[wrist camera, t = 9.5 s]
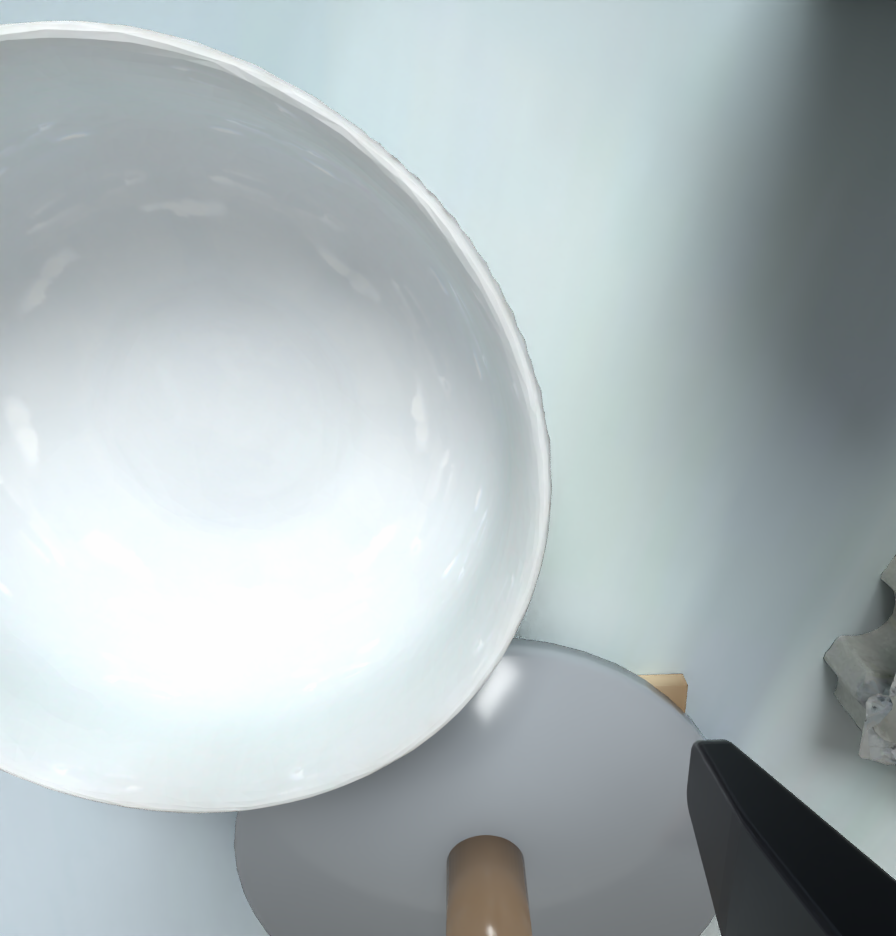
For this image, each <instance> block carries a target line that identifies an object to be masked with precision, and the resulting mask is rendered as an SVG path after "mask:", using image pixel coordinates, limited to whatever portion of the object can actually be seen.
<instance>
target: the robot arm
mask: <svg viewBox="0 0 896 936" xmlns="http://www.w3.org/2000/svg"><path fill="white" fill-rule="evenodd" d="M687 805H688V810H689V814H690V818H691V822H692V826H693V830H694V833H695V837H696V841H697V845H698V849H699V853H700V856H701V860H702V864H703V868H704V872H705V875H706V879H707V883H708V887H709V891H710V895H711V898H712V902H713V906H714V910H715V914H716V917H717V921H718V925H719V928H720V932H721V935H722V936H896V880H895V879H894V878H892V877H891V876H890V875H889V874H888V873H886V872H885V871H884V870H883V869H882V868H880V867H879V866H878V865H877V864H876V863H874V862H873V861H872V860H871V859H870V858H869V857H867V856H866V855H865V854H864V853H863V852H861V851H860V850H859V849H858V848H857V847H855V846H854V845H853V844H852V843H851V842H849V841H848V840H847V839H846V838H845V837H844V836H842V835H841V834H840V833H839V832H838V831H836V830H835V829H834V828H833V827H832V826H830V825H829V824H828V823H827V822H826V821H824V820H823V819H822V818H821V817H820V816H818V815H817V814H816V813H815V812H814V811H813V810H811V809H810V808H809V807H808V806H807V805H805V804H804V803H803V802H802V801H801V800H799V799H798V798H797V797H796V796H795V795H793V794H792V793H791V792H790V791H789V790H787V789H786V788H785V787H784V786H783V785H782V784H780V783H779V782H778V781H777V780H776V779H774V778H773V777H772V776H771V775H770V774H768V773H767V772H766V771H765V770H764V769H762V768H761V767H760V766H759V765H758V764H756V763H755V762H754V761H753V760H752V759H751V758H749V757H748V756H747V755H746V754H745V753H743V752H742V751H741V750H740V749H739V748H737V747H736V746H735V745H734V744H732V743H731V742H729V741H727V740H723V739H717V740H697V741H695V742H694V743H693V745H692V748H691V753H690V763H689V772H688V781H687Z"/></svg>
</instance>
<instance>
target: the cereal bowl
mask: <svg viewBox="0 0 896 936" xmlns="http://www.w3.org/2000/svg"><path fill="white" fill-rule="evenodd" d="M551 493H552V483H551V462H550V438H549V435H548V431H547V426H546V421H545V412H544V409H543V402H542V392H541V388H540V386H539V384H538V381H537V379H536V377H535V374H534V369H533V365H532V361H531V359H530V357H529V354H528V351H527V346H526V342H525V339H524V337H523V335H522V334H521V332H520V330H519V328H518V327H517V323H516V320H515V316H514V313H513V311H512V309H511V308H510V306H509V305H508V303H507V302H506V300H505V297H504V295H503V293H502V291H501V288H500V286H499V284H498V282H497V281H496V280H495V279H494V277H493V276H492V274H491V272H490V269H489V267H488V265H487V263H486V261H485V260H484V259H483V258H482V257H481V255H480V254H479V253H478V252H477V250H476V248H475V247H474V245H473V243H472V241H471V239H470V238H469V237H468V236H467V235H466V234H465V233H464V232H463V230H462V229H461V228H460V226H459V224H458V222H457V221H456V219H455V218H454V217H453V216H452V215H451V214H450V213H449V212H448V211H447V210H446V209H445V208H444V207H443V205H442V204H441V203H440V201H439V200H438V199H437V198H436V196H435V195H434V194H433V193H431V192H430V191H429V190H428V189H426V187H425V186H424V185H423V183H422V182H421V180H420V179H419V178H418V177H416V176H415V175H414V174H412V173H411V172H409V171H408V170H407V169H406V168H405V167H404V166H403V164H402V163H401V162H400V161H399V160H398V159H397V158H395V157H394V156H393V155H391V154H390V153H389V152H387V151H386V150H385V149H384V147H383V146H382V145H381V144H380V143H378V142H377V141H375V140H373V139H371V138H370V137H369V136H368V135H367V134H366V133H365V132H364V131H363V130H362V129H360V128H359V127H357V126H356V125H355V124H353V123H352V122H350V121H349V120H347V119H346V118H344V117H343V116H341V115H340V114H339V113H338V112H336V111H334V110H332V109H330V108H329V107H328V106H327V105H325V104H324V103H323V102H321V101H320V100H319V99H318V98H316V97H314V96H312V95H310V94H309V93H307V92H305V91H303V90H301V89H299V88H298V87H296V86H294V85H292V84H290V83H288V82H286V81H284V80H282V79H280V78H278V77H276V76H274V75H273V74H271V73H269V72H268V71H266V70H264V69H262V68H261V67H259V66H257V65H255V64H252V63H249V62H247V61H244V60H241V59H239V58H236V57H233V56H231V55H228V54H226V53H223V52H221V51H218V50H216V49H213V48H210V47H208V46H205V45H203V44H200V43H198V42H194V41H190V40H187V39H183V38H179V37H175V36H171V35H167V34H163V33H159V32H155V31H151V30H146V29H141V28H136V27H132V26H127V25H117V24H106V23H96V22H86V21H44V22H29V23H15V24H1V25H0V770H2V771H5V772H7V773H9V774H11V775H13V776H16V777H19V778H21V779H24V780H27V781H29V782H32V783H35V784H37V785H40V786H43V787H45V788H48V789H51V790H54V791H58V792H61V793H65V794H68V795H72V796H76V797H80V798H84V799H88V800H92V801H96V802H101V803H107V804H112V805H117V806H122V807H128V808H136V809H144V810H152V811H165V812H177V813H217V812H234V811H245V810H252V809H259V808H265V807H271V806H276V805H281V804H286V803H290V802H295V801H299V800H303V799H307V798H310V797H313V796H316V795H319V794H322V793H325V792H329V791H331V790H334V789H337V788H339V787H342V786H344V785H347V784H349V783H352V782H354V781H356V780H359V779H361V778H363V777H366V776H368V775H370V774H372V773H374V772H376V771H378V770H380V769H381V768H383V767H385V766H387V765H389V764H391V763H392V762H394V761H396V760H398V759H399V758H401V757H403V756H404V755H406V754H408V753H410V752H411V751H413V750H414V749H415V748H417V747H418V746H419V745H421V744H422V743H424V742H425V741H426V740H427V739H429V738H430V737H431V736H433V735H434V734H435V733H437V732H438V731H439V730H440V729H441V728H443V727H444V726H445V725H446V724H447V723H448V722H449V721H450V720H451V719H452V718H453V717H455V716H456V715H457V714H458V713H459V712H460V711H461V710H462V708H463V707H464V706H465V705H466V704H467V703H468V702H469V701H470V700H471V699H472V697H473V696H474V695H475V694H476V693H477V692H478V691H479V689H480V688H481V687H482V686H483V684H484V683H485V682H486V681H487V679H488V678H489V676H490V675H491V673H492V672H493V671H494V669H495V668H496V666H497V665H498V663H499V661H500V660H501V658H502V657H503V655H504V654H505V652H506V650H507V648H508V647H509V645H510V643H511V641H512V639H513V637H514V635H515V633H516V631H517V629H518V627H519V625H520V623H521V621H522V619H523V617H524V615H525V613H526V611H527V608H528V606H529V603H530V600H531V598H532V595H533V592H534V589H535V586H536V583H537V579H538V576H539V573H540V569H541V566H542V561H543V556H544V552H545V547H546V542H547V536H548V531H549V519H550V507H551Z"/></svg>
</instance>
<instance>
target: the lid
mask: <svg viewBox="0 0 896 936" xmlns="http://www.w3.org/2000/svg"><path fill="white" fill-rule="evenodd" d="M697 740H706V738H705V737H704V736H703V734H702V733H701V732H700V730H699V729H698V728H697V726H696V725H695V724H694V722H693V721H692V720H691V718H690V717H689V716H688V715H687V714H686V713H684V712H683V711H682V710H681V709H680V708H679V707H678V706H677V705H676V704H675V703H674V702H673V701H672V700H671V699H670V698H669V697H668V696H666V695H665V694H664V693H662V692H661V691H659V690H658V689H657V688H655V687H654V686H653V685H652V684H650V683H649V682H648V681H646V680H645V679H643V678H641V677H640V676H638V675H636V674H634V673H632V672H630V671H628V670H627V669H625V668H623V667H621V666H619V665H617V664H615V663H613V662H610V661H608V660H605V659H602V658H600V657H597V656H595V655H592V654H589V653H587V652H584V651H581V650H577V649H573V648H569V647H565V646H561V645H557V644H553V643H548V642H541V641H534V640H526V639H519V638H513V639H512V641H511V643H510V645H509V647H508V648H507V650H506V652H505V654H504V655H503V657H502V658H501V660H500V661H499V663H498V665H497V666H496V668H495V669H494V671H493V672H492V673H491V675H490V676H489V678H488V679H487V681H486V682H485V683H484V684H483V686H482V687H481V688H480V689H479V691H478V692H477V693H476V694H475V695H474V696H473V697H472V699H471V700H470V701H469V702H468V703H467V704H466V705H465V706H464V707H463V708H462V710H461V711H460V712H459V713H458V714H457V715H456V716H455V717H453V718H452V719H451V720H450V721H449V722H448V723H447V724H446V725H445V726H444V727H443V728H441V729H440V730H439V731H438V732H437V733H435V734H434V735H433V736H431V737H430V738H429V739H427V740H426V741H425V742H424V743H422V744H421V745H419V746H418V747H417V748H415V749H414V750H413V751H411V752H410V753H408V754H406V755H404V756H403V757H401V758H399V759H398V760H396V761H394V762H392V763H391V764H389V765H387V766H385V767H383V768H381V769H380V770H378V771H376V772H374V773H372V774H370V775H368V776H366V777H363V778H361V779H359V780H356V781H354V782H352V783H349V784H347V785H344V786H342V787H339V788H337V789H334V790H331V791H329V792H325V793H322V794H319V795H316V796H313V797H310V798H307V799H303V800H299V801H295V802H290V803H286V804H281V805H276V806H271V807H265V808H259V809H252V810H245V811H238V814H237V818H236V824H235V840H234V849H235V857H236V866H237V871H238V875H239V878H240V881H241V885H242V888H243V891H244V894H245V896H246V898H247V900H248V902H249V904H250V906H251V908H252V910H253V912H254V914H255V916H256V917H257V918H258V920H259V921H260V923H261V924H262V926H263V927H264V929H265V930H266V931H267V933H268V934H269V935H270V936H699V935H700V934H701V933H702V932H703V931H704V930H705V928H706V927H707V926H708V925H709V923H710V922H711V920H712V919H713V917H714V915H715V910H714V906H713V902H712V898H711V895H710V891H709V887H708V883H707V879H706V875H705V872H704V868H703V864H702V860H701V856H700V853H699V849H698V845H697V841H696V837H695V833H694V830H693V826H692V822H691V818H690V814H689V810H688V805H687V781H688V772H689V763H690V753H691V748H692V745H693V743H694V742H695V741H697Z"/></svg>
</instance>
